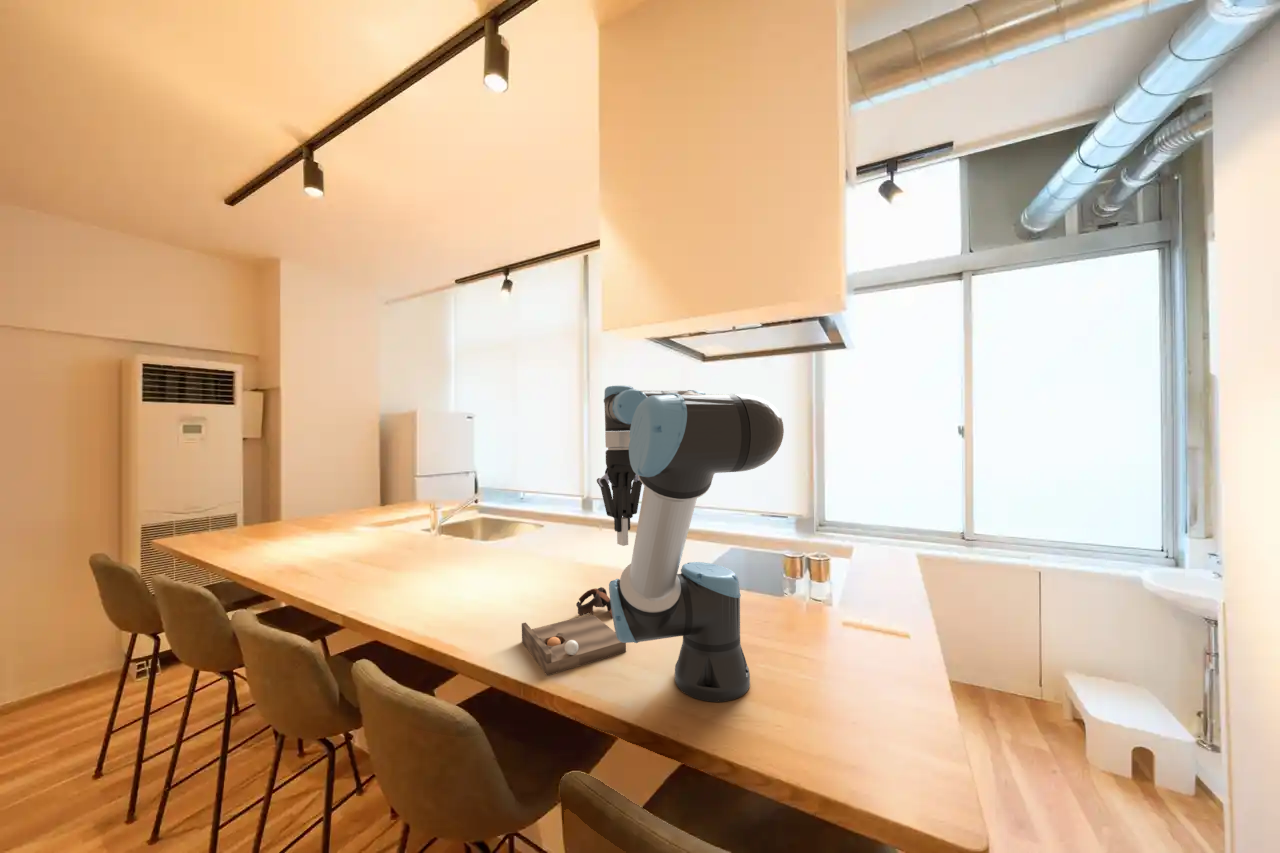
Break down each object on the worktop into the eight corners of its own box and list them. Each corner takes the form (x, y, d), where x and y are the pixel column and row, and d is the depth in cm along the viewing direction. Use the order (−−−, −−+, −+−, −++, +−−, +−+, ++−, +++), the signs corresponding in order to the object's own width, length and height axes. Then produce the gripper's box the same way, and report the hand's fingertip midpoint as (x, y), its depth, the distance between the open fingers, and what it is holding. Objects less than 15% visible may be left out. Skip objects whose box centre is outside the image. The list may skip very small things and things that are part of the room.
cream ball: (580, 655, 101) (580, 641, 101) (567, 659, 100) (567, 645, 100) (575, 649, 104) (575, 636, 104) (562, 653, 102) (562, 639, 102)
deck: (625, 651, 108) (625, 632, 108) (547, 675, 98) (546, 654, 98) (592, 623, 123) (592, 606, 123) (522, 641, 113) (521, 623, 113)
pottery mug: (614, 625, 123) (598, 600, 122) (584, 637, 125) (568, 614, 124) (621, 597, 135) (606, 574, 133) (593, 609, 137) (579, 587, 135)
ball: (564, 641, 108) (552, 638, 107) (560, 655, 108) (547, 653, 106) (559, 635, 111) (547, 633, 109) (555, 649, 110) (543, 647, 109)
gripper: (634, 447, 122) (636, 537, 122) (590, 449, 114) (592, 545, 114) (650, 447, 116) (653, 543, 115) (605, 450, 108) (607, 551, 108)
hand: (622, 544), depth 115 cm, fingers closed
